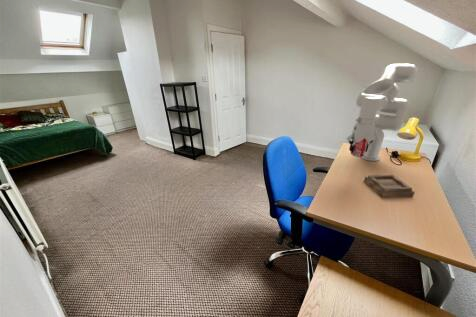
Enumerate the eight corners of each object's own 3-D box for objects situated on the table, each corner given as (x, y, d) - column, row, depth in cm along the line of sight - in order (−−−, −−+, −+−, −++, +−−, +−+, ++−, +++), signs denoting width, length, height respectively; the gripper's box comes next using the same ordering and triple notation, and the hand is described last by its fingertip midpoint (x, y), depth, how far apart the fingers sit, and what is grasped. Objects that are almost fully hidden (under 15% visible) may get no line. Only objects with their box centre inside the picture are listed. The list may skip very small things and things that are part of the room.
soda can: (360, 152, 119) (365, 133, 113) (366, 158, 112) (371, 138, 107) (348, 152, 119) (352, 133, 114) (352, 157, 113) (358, 137, 108)
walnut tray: (363, 181, 118) (365, 174, 116) (390, 180, 118) (392, 173, 116) (382, 197, 103) (385, 190, 101) (412, 196, 104) (415, 189, 102)
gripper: (353, 123, 103) (346, 154, 111) (386, 122, 104) (377, 153, 111) (346, 119, 110) (339, 149, 118) (377, 118, 110) (368, 148, 118)
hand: (357, 150), depth 115 cm, fingers closed on soda can, 7 cm apart
